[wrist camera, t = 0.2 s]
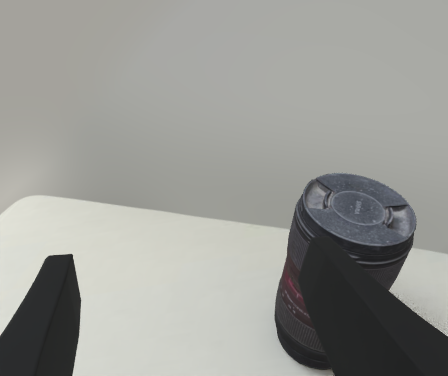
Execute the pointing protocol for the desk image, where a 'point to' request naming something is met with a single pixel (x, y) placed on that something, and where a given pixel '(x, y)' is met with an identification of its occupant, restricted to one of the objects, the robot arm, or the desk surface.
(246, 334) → the desk surface
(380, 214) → the camera lens
